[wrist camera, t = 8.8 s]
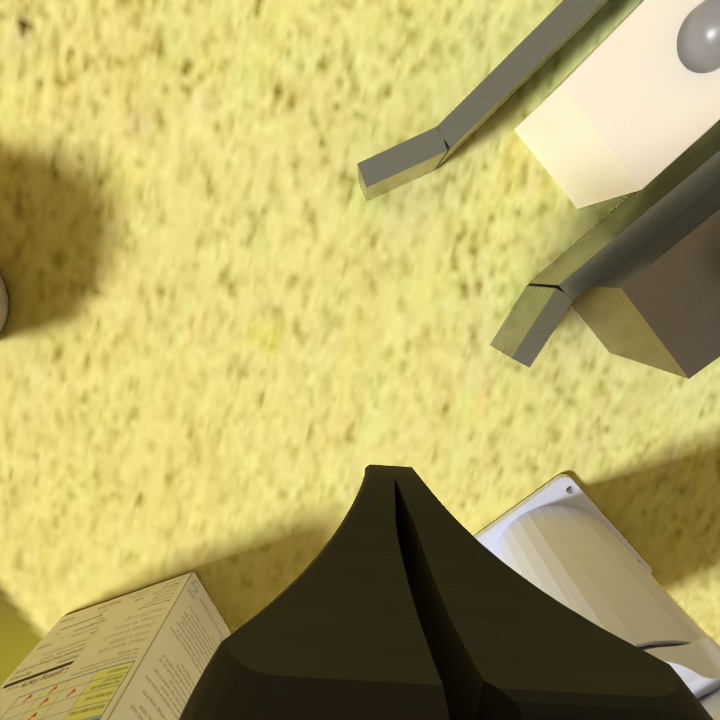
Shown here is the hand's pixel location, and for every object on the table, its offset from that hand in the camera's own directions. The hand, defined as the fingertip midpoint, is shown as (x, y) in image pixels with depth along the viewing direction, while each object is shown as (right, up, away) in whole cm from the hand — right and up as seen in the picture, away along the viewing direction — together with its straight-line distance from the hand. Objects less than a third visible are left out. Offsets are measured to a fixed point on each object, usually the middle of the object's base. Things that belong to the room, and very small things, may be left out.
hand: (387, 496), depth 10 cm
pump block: (+11, +16, +7) cm, 20 cm away
